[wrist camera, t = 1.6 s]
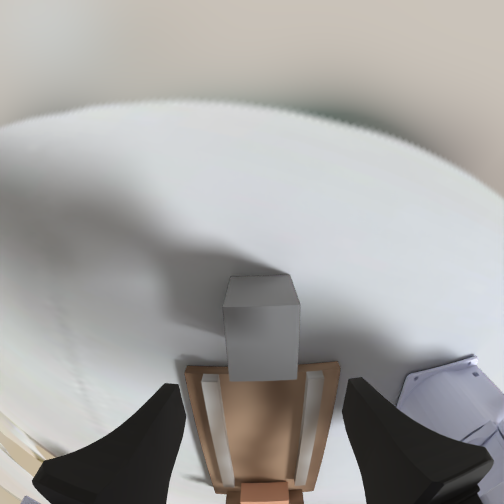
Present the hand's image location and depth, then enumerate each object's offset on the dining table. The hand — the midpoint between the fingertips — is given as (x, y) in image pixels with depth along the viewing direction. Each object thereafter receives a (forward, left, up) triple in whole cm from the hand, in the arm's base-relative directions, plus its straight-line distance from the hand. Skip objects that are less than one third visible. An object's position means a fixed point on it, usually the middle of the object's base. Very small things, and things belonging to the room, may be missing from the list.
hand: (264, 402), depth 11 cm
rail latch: (0, +23, -8) cm, 24 cm away
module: (0, 0, -10) cm, 10 cm away
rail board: (0, +16, -9) cm, 18 cm away
